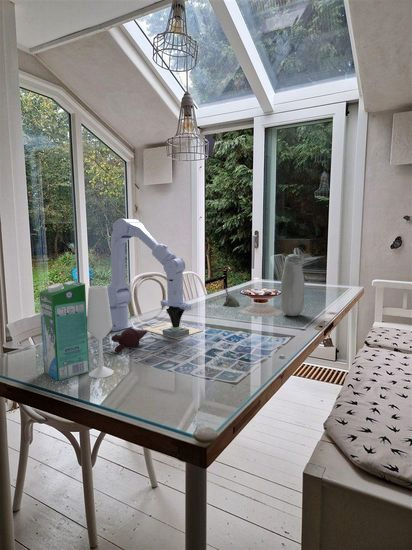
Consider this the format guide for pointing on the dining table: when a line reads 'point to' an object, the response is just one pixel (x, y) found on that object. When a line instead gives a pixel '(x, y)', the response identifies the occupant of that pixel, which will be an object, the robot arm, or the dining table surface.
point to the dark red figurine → (128, 339)
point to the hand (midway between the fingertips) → (175, 326)
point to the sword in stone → (230, 300)
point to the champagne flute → (99, 324)
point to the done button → (175, 328)
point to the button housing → (175, 334)
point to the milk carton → (64, 330)
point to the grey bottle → (292, 286)
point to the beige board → (159, 328)
